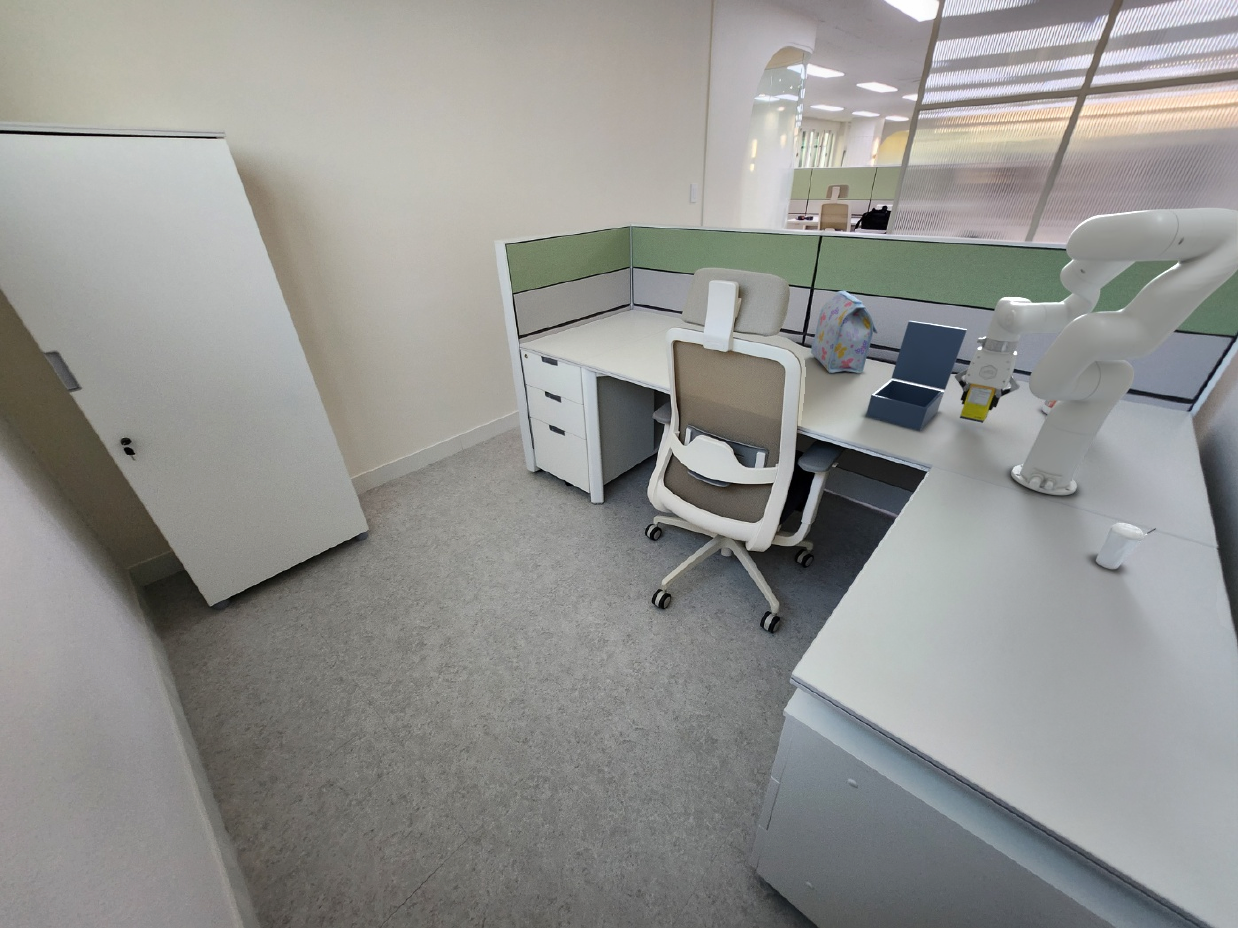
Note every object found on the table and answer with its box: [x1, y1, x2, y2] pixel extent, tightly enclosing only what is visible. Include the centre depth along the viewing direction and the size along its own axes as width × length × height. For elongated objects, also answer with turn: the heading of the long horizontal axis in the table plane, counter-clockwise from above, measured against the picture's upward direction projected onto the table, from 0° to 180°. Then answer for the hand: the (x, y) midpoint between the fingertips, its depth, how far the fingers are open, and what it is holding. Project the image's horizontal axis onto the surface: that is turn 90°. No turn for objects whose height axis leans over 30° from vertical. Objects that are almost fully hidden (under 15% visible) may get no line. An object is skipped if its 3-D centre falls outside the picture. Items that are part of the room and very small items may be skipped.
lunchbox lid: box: [891, 320, 968, 391], centre depth 150 cm, size 18×16×5 cm
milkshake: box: [1095, 522, 1157, 570], centre depth 91 cm, size 4×5×10 cm
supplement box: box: [959, 383, 996, 424], centre depth 140 cm, size 6×6×11 cm
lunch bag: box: [810, 290, 879, 374], centre depth 185 cm, size 22×17×26 cm
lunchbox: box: [865, 378, 945, 432], centre depth 150 cm, size 18×16×7 cm
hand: (977, 405), depth 140 cm, fingers closed on supplement box, 6 cm apart
